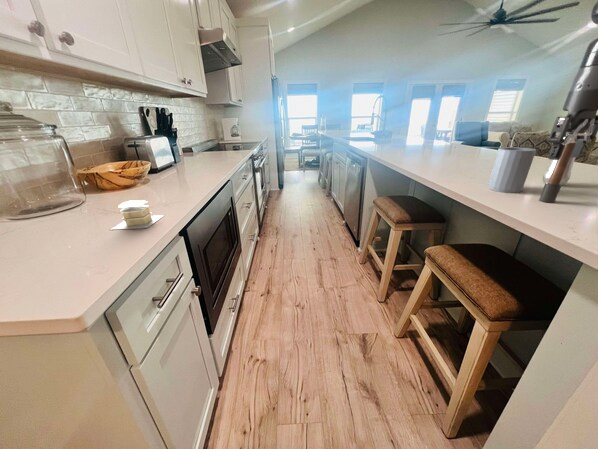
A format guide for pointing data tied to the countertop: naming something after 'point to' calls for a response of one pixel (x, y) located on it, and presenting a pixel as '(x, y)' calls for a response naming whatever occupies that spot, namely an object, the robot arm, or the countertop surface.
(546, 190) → the brush
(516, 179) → the cup
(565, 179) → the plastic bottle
